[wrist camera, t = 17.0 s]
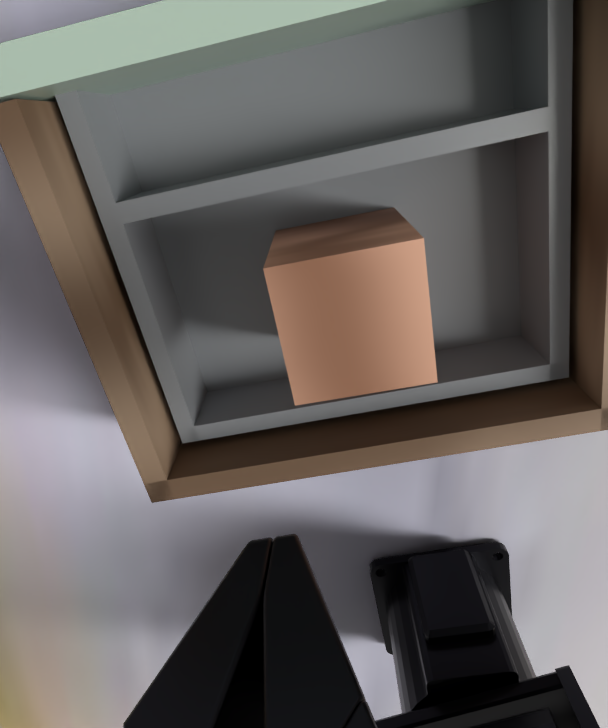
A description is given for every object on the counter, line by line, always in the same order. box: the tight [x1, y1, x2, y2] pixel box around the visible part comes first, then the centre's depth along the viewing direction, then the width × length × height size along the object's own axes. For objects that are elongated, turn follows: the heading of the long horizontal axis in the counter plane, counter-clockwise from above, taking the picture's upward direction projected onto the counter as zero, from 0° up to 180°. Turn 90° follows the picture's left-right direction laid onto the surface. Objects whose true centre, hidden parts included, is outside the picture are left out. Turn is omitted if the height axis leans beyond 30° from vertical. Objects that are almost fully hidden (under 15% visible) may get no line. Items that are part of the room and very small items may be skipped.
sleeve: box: [0, 0, 608, 503], centre depth 16 cm, size 12×15×5 cm
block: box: [263, 207, 438, 406], centre depth 16 cm, size 4×4×5 cm
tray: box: [0, 0, 573, 443], centre depth 16 cm, size 12×15×5 cm
